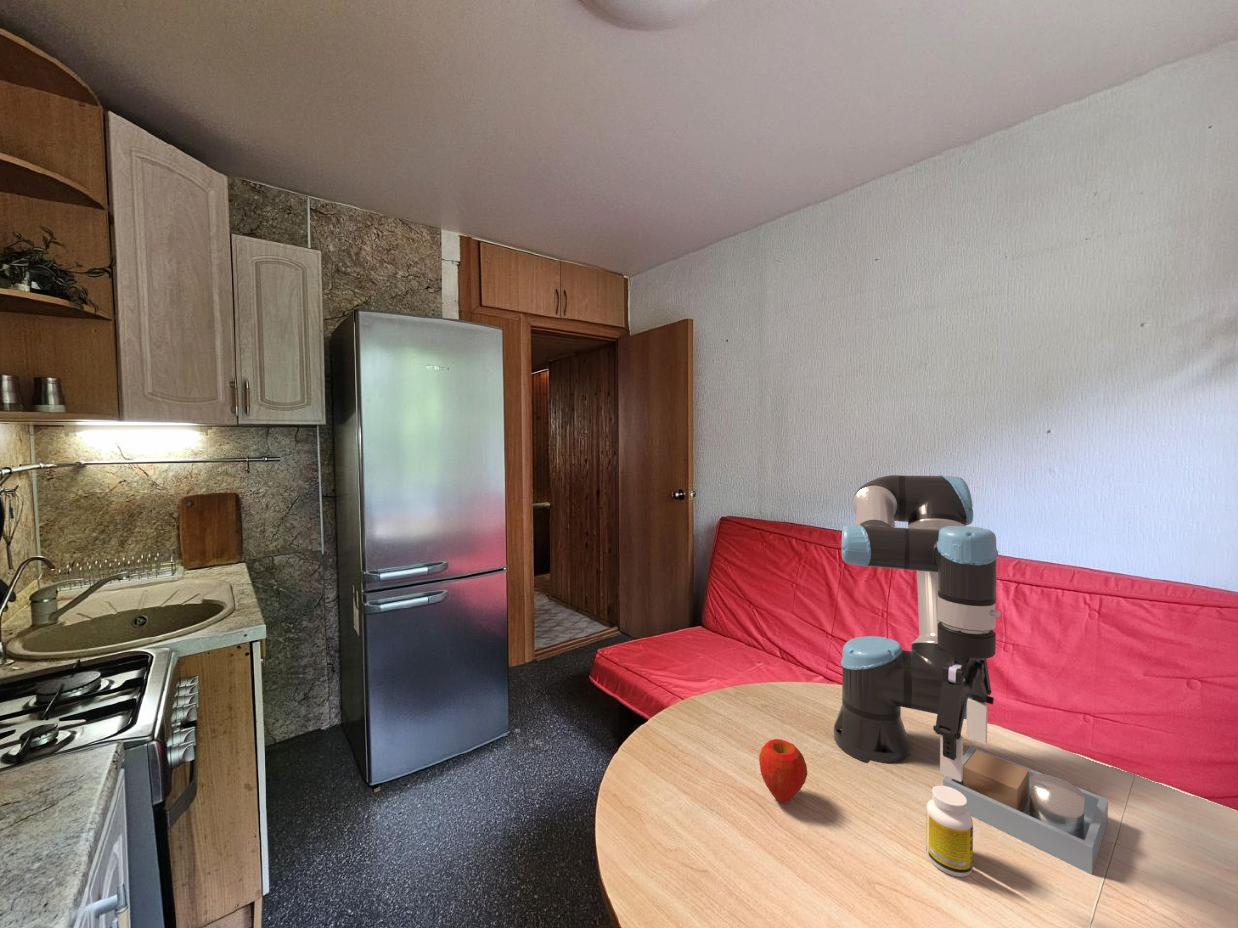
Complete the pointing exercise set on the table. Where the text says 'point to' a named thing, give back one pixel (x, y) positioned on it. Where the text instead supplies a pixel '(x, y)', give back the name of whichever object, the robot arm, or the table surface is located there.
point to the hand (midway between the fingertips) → (964, 757)
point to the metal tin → (1057, 804)
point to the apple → (782, 769)
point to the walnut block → (997, 779)
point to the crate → (1040, 822)
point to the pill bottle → (949, 832)
